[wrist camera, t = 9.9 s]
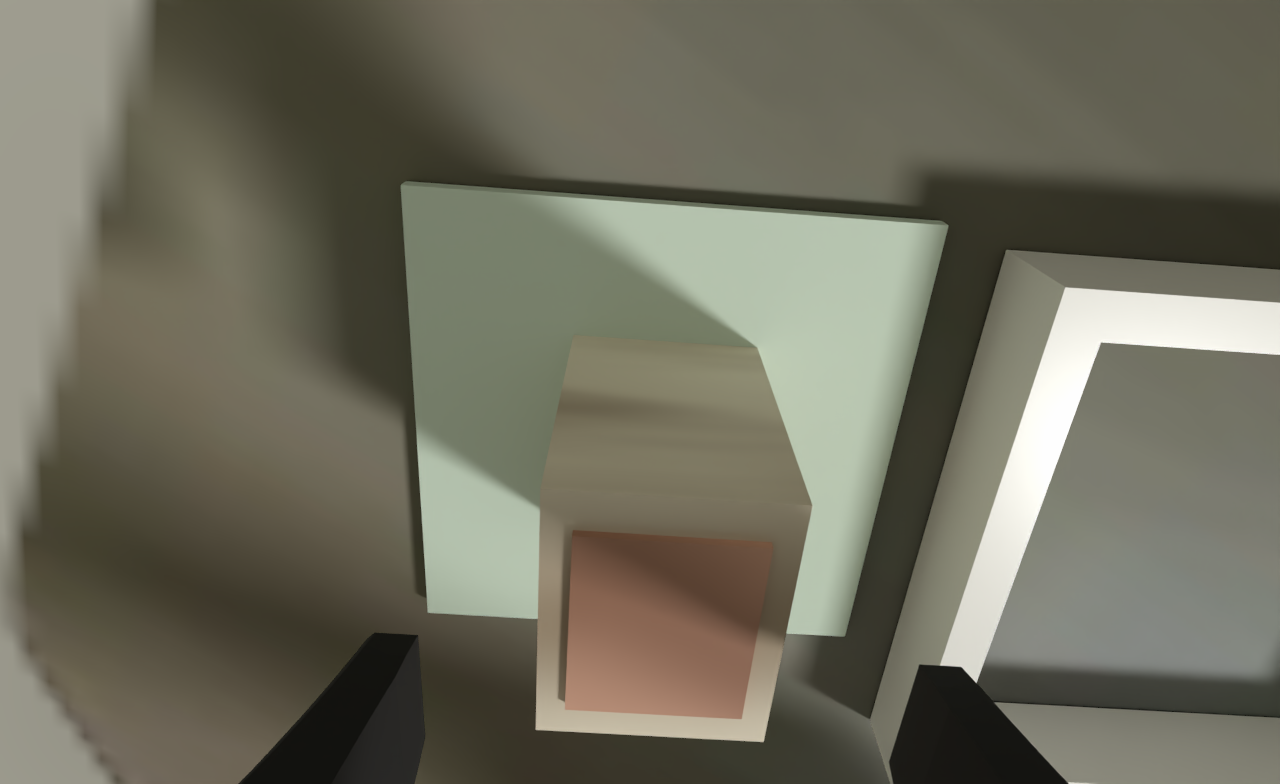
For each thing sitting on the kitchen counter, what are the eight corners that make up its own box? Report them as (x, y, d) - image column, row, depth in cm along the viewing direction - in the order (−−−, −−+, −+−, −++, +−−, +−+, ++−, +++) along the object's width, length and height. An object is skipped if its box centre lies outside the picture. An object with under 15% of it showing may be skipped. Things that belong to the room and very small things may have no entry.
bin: (1337, 745, 23) (1413, 826, 20) (869, 720, 22) (895, 799, 20) (1644, 296, 16) (1802, 340, 14) (1006, 249, 16) (1065, 287, 14)
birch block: (728, 534, 19) (764, 749, 13) (566, 524, 19) (534, 737, 13) (757, 347, 17) (814, 511, 11) (573, 335, 16) (539, 494, 11)
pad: (841, 625, 21) (845, 636, 20) (431, 602, 20) (428, 612, 20) (941, 220, 16) (948, 225, 15) (406, 181, 15) (400, 185, 15)
